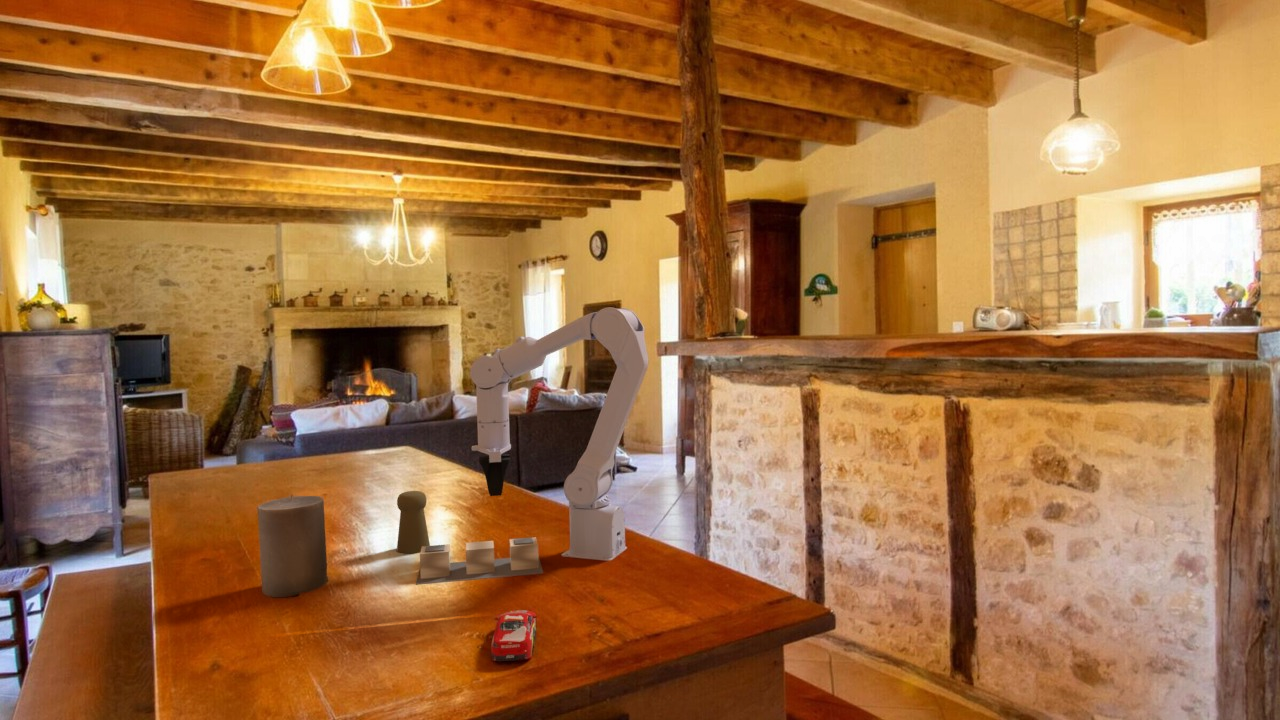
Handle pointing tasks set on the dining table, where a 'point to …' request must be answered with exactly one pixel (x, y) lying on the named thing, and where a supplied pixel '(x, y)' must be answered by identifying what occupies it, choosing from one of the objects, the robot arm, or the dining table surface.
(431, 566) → the marked block 1
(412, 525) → the brown game pawn
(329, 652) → the dining table surface
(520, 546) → the marked block 2
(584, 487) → the robot arm
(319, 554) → the pillar candle
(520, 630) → the race car
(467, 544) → the plain block
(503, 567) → the mat
